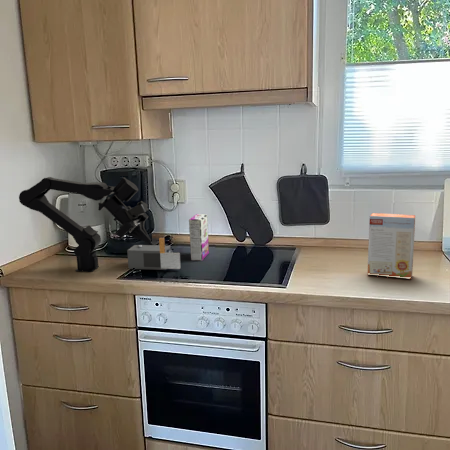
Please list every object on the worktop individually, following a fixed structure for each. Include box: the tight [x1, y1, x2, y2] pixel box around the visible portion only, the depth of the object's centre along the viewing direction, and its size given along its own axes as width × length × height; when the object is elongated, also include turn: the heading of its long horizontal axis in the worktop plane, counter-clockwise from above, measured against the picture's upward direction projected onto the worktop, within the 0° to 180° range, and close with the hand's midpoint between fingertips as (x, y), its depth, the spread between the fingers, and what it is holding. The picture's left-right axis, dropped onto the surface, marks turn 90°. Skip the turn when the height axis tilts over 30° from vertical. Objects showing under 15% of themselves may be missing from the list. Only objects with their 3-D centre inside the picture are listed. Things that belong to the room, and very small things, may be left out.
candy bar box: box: [188, 213, 210, 262], centre depth 185 cm, size 11×5×16 cm, turn 168°
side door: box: [158, 237, 181, 270], centre depth 168 cm, size 7×1×11 cm, turn 81°
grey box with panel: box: [126, 244, 174, 271], centre depth 174 cm, size 15×8×8 cm, turn 81°
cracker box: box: [367, 212, 416, 278], centre depth 157 cm, size 14×6×21 cm, turn 65°
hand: (150, 241), depth 168 cm, fingers closed
